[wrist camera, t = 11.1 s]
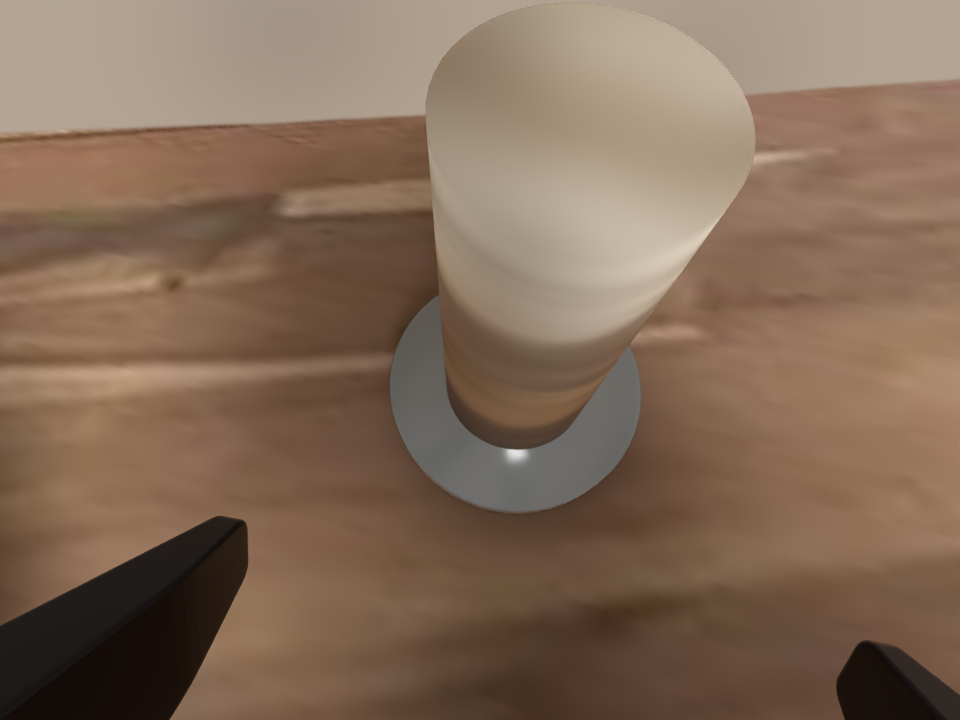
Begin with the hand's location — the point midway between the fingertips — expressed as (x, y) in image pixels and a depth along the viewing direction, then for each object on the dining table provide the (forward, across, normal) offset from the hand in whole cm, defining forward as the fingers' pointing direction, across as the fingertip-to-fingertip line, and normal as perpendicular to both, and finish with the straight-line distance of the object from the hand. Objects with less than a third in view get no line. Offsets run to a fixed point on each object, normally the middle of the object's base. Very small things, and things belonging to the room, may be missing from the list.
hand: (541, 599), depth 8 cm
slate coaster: (+14, 0, +3) cm, 15 cm away
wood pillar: (+13, 0, +2) cm, 13 cm away
